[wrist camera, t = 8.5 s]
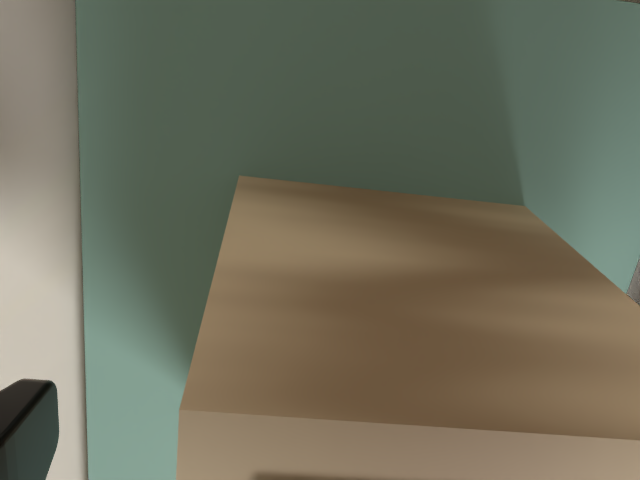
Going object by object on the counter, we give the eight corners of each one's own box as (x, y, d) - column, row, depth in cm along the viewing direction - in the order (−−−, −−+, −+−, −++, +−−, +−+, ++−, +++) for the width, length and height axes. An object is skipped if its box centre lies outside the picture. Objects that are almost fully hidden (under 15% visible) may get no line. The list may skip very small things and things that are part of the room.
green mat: (711, 15, 10) (728, 16, 9) (522, 544, 14) (528, 559, 14) (82, -77, 9) (72, -80, 8) (95, 524, 13) (89, 539, 13)
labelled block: (525, 206, 10) (827, 470, 5) (462, 432, 12) (621, 820, 6) (239, 175, 10) (174, 429, 4) (220, 416, 12) (158, 822, 6)
